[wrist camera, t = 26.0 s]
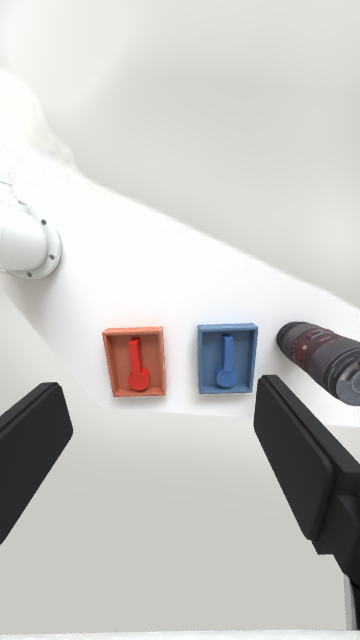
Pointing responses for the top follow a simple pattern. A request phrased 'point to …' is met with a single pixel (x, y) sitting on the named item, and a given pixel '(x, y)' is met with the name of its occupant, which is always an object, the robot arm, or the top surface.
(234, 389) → the blue tray
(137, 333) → the red tray
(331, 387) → the camera lens
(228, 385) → the blue spoon
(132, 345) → the red spoon
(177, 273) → the top surface
